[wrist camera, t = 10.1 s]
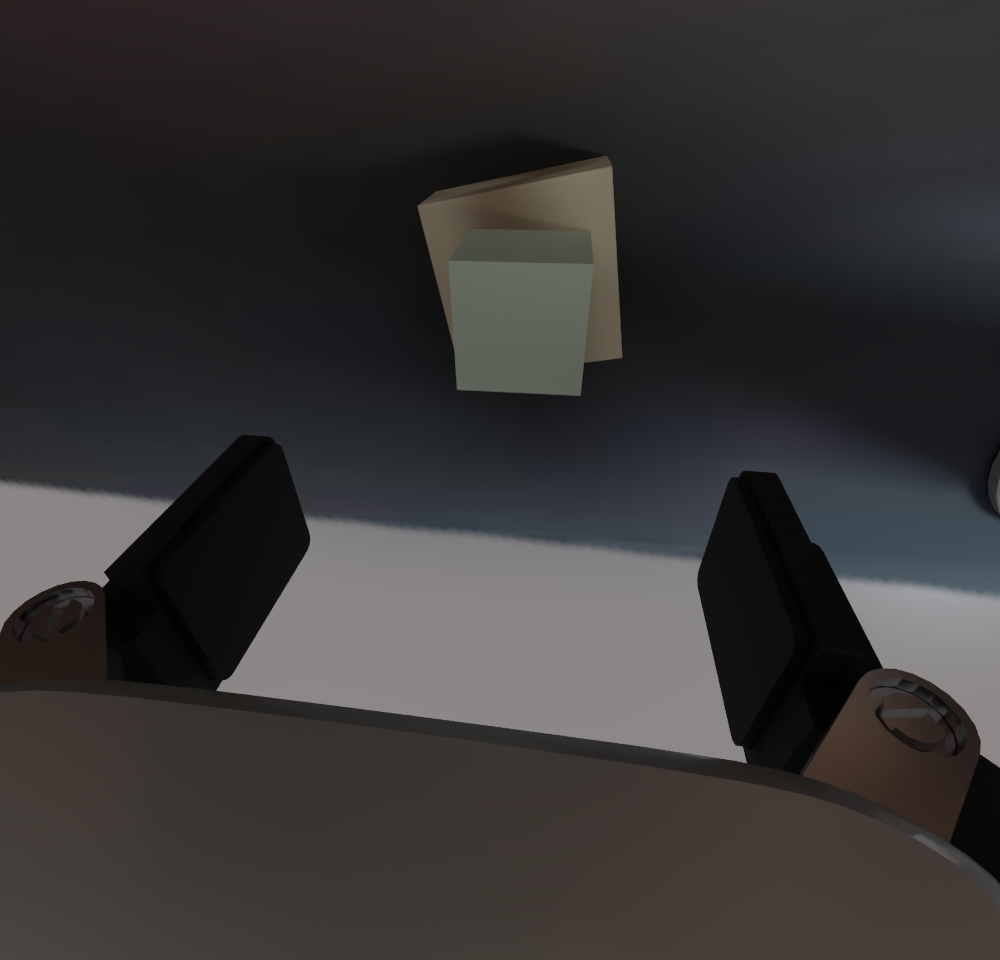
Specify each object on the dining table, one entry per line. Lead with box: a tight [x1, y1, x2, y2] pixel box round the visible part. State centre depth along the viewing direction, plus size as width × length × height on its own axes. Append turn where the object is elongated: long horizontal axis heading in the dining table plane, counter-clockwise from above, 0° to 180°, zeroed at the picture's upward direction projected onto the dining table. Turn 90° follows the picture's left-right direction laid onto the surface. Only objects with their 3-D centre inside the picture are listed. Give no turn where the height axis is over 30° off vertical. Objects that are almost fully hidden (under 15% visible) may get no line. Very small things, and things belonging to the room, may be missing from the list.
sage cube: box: [449, 229, 594, 396], centre depth 21 cm, size 5×5×5 cm
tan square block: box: [417, 156, 622, 363], centre depth 24 cm, size 8×8×4 cm
